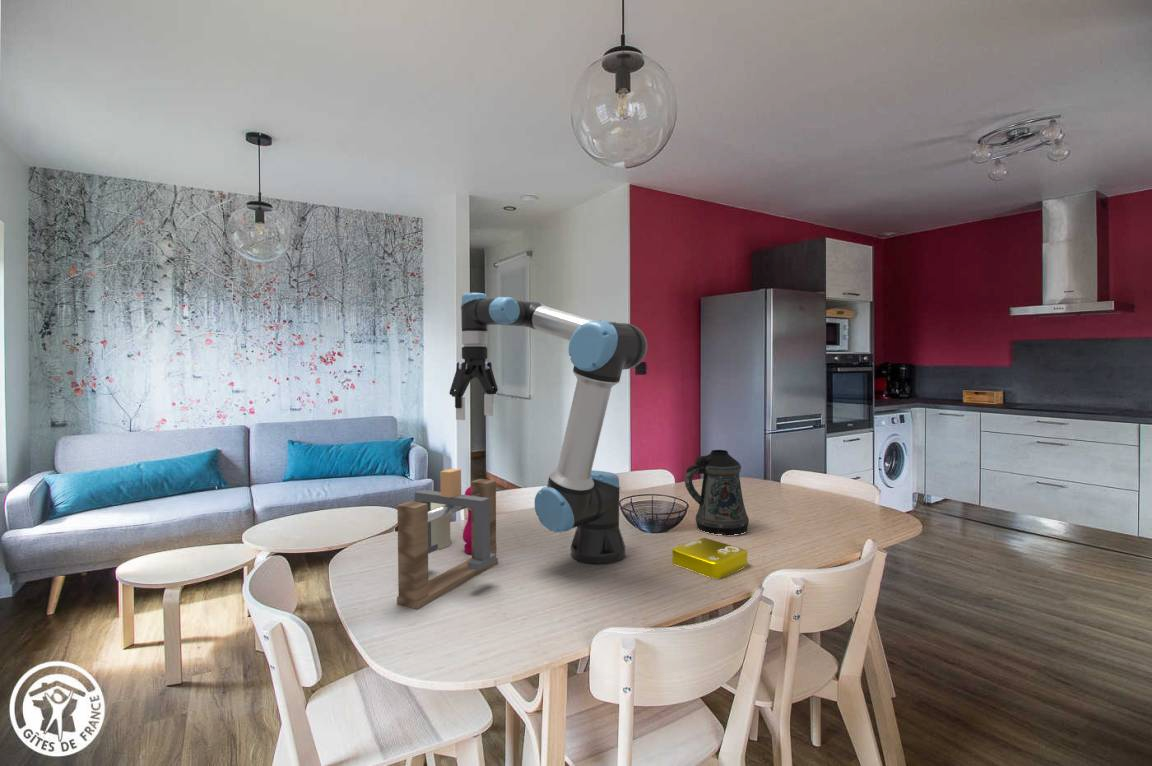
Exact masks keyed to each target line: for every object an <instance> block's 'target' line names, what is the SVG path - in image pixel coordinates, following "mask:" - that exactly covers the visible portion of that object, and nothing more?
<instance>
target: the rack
mask: <svg viewBox="0 0 1152 766" xmlns="http://www.w3.org/2000/svg"><path fill="white" fill-rule="evenodd" d="M470 487H471V496H476V497H484V498H489V500H490V553H492V554H496V555H497V480H495V479H492V480H491V479H485V478H479V479H475V480H473V481H470ZM465 509H467V508H466V507H459V506H452V505H444V506H441V507H439V508H436V509H433V510H430V511H428V504H426V503H419V502H415V501H411V500H410V501H407V502H403V503H400V504H398V505H397V510H396V511H397V575H398V576H397V577H398V578H397V579H398V582H397V583H398V586H397V587H398V592H397V593H398V595H397V596H396V604H398V605H400V606H404V607H408V608H412V609H415V610H419V609H421V608H423V607H424V606H425V605H427V604H430V603H431V602H433V601H434V600H436V599H438V598H440V597H441V595H442V596H443V595H445V594H447V593H449V592H451V591H452V590H453V588H454V589H456V588H457V587H460V586H461V585H462V584H464V583H466V582H468V581H470V580H471V579H473V578H474V576H475V577H476V576H478V575H480V574H482V573H484V572H485V571H487V570H489V569H491V568H492V567H493V566H495V565H497V564H498V562H499V559H498V557H497V556H496V561H495V562H493V563H491V564H489V565H488V566H486V567H484V568H482V569H480V570H479V571H478V570H473V569H468V562H469V561H471V560H473V559H474V509H473V508H471V528H472V554H471V558H469V559H467V560H465V561H463V562H461V563H459V564H458V565H455V566H453V567H452V568H449V569H447V570H446V571H444V572H442V573H440V574H438V575H436V576H434V577H432V578H431V579H429V554H428V522H431V521H434V520H436V519H439V518H441V517H444V516H447V515H449V514H450V515H451V514H454V513H457V512H459V511H462V510H465ZM467 580H468V581H467ZM460 584H461V585H460ZM455 587H456V588H455ZM451 589H452V590H451ZM448 591H449V592H448ZM446 592H447V593H446Z"/></svg>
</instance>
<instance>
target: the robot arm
mask: <svg viewBox="0 0 1152 766" xmlns="http://www.w3.org/2000/svg"><path fill="white" fill-rule="evenodd" d="M460 303H461V304H460V310H461V314H460V315H461V319H460V320H461V345H463V346H462V347H461V359H463V360H464V361H463V362H461V361H460V362H457V363H456V370H455V374H454V377H453V380H452V383H451V386H450V389H449V396H451V397H454V407H455V420H457V421H466V397H465V396H464V394H465V393H466V390H467V389H468V387H469V385H470V383H471V381H472V380H473V379H475V378H476V379H478V380H479V383H480V384H481V386H482V389H483V390H484V393H485V394H483V396H484V397H483V409H484V410H483V412H484V413H483V415H484V416H489V417H491V416H494V395H496V394H497V392H498V391H499V390H498V389H499V388H498V385H497V382H496V379H495V376H494V373H493V372H494V371H493V365H492V362H490V361H485V360H488V347H487V345H488V344H489V343H488V340H489V339H488V326H496V325H497V326H510V327H511V326H515V327H525V328H529V329H531V330H536V331H540V332H542V333H545V334H548V335H551V336H554V337H557V338H560V339H563V340H566V341H568V342H569V343H568V355H569V356H570V362H571V363H572V364H573V369H572V373H573V375H574V376H575V377H576V385H575V389H574V392H573V397H572V402H571V405H570V410H569V415H568V419H567V424H566V428H565V433H564V437H563V441H562V445H561V451H560V455H559V460H558V463H557V467H556V468H555V469H553V470H551V472H549V477H548V480H547V485H546V486H543V487H542V488H540V489H539V490H538V491H537V493H536V495H535V498H534V510H535V511H534V512H535V514H536V515H537V517H538V521H539V522H540V523H541V525H543V527H545V528H546V529H547V530H548V531H550V532H553V533H563V532H569V531H571V530H572V529H574V528H575V532H574V535H573V539H572V541H571V544H570V545H571V546H570V555H571V557H572V559H575V560H577V561H579V562H582V563H586V564H587V563H588V564H596V565H597V564H599V565H600V564H601V565H602V564H612V563H616V562H619V561H621V560H623V559H624V558H625V557H626V544H625V541H624V538H623V534H622V532H621V529H620V490H621V487H620V478H619V476H618V475H617V474H616V473H613V472H609V471H602V470H593V466H594V461H595V458H596V457H595V456H596V454H597V449H598V445H599V441H600V437H601V432H602V427H603V425H604V424H603V423H604V420H605V415H606V413H607V412H606V411H607V408H608V403H609V400H610V395H611V391H612V387H614V386H616V385H617V384H619V383H620V381H621V377H622V373H623V370H630V369H632V368H634V367H637V366H638V365H639V364H640V363H641V362H643V360H644V358H645V356H646V355H647V352H648V341H647V338H646V336H645V334H644V332H643V331H642V330H641V329H640V328H639V327H637V326H636V325H633V324H630V323H627V322H626V323H625V322H623V323H622V322H616V321H606V320H602V319H601V320H595V319H591V318H588V317H585V316H582V315H581V316H580V315H579V314H574V313H570V312H567V311H564V310H560V309H557V308H552V307H550V306H547V305H546V304H544V303H541V302H537V301H524V300H518V299H514V298H513V297H511V296H505V297H504V296H498V297H494V298H492V297H491V298H488V296H487V294H486V293H482V292H465V293H464V294H462V295H461V302H460Z"/></svg>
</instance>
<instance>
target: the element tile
mask: <svg viewBox="0 0 1152 766" xmlns="http://www.w3.org/2000/svg"><path fill="white" fill-rule="evenodd" d="M671 550H672V551H671V554H672V555H671V559H672V561H671V563H672V565H674V564H676V565H679V566H682V567H685V568H688V569H690V570H693V571H696V572H698V573H701V574H704V575H706V576H709V577H713V578H721V577H723V578H725V577H724V576H726V575H728V574H730V575H732V574H734V573H733V572H735V571H737V570H739V569H741V568H743V567H746V566H747V567H748V551H747V550H746V549H744V548H740V547H737V546H734V545H732V544H727V543H723V542H720V541H717V540H713V539H710V538H707V537H702V538H698V539H695V540H693V541H689V542H687V543H683V544H681V545H677V546H675V547H672V549H671ZM676 565H675V566H676ZM747 567H746V568H747ZM743 569H744V568H743ZM741 570H742V569H741ZM739 571H740V570H739ZM737 572H738V571H737ZM698 573H697V574H698ZM731 573H732V574H731ZM735 573H736V572H735ZM706 576H705V577H706ZM728 576H729V575H728ZM709 577H708V578H709ZM726 577H727V576H726ZM713 578H712V579H713ZM721 579H722V578H721Z"/></svg>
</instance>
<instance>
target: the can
mask: <svg viewBox="0 0 1152 766" xmlns="http://www.w3.org/2000/svg"><path fill="white" fill-rule="evenodd" d="M444 505H445V504H438V503H431V510H433V509H436V508H439V507H441V506H444ZM431 543H437V544H438V548H441V549H445V548H447V547H449V546H450V545H451V544H452V540H451V514H449V515H447V516H444V517H441V518H439V519H436V520H434V521H431ZM446 546H447V547H446ZM444 547H445V548H444Z"/></svg>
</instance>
